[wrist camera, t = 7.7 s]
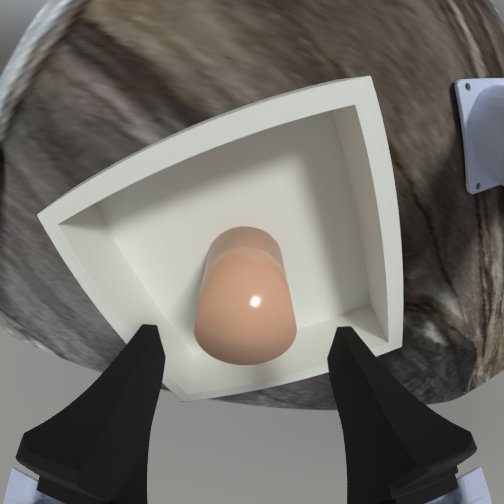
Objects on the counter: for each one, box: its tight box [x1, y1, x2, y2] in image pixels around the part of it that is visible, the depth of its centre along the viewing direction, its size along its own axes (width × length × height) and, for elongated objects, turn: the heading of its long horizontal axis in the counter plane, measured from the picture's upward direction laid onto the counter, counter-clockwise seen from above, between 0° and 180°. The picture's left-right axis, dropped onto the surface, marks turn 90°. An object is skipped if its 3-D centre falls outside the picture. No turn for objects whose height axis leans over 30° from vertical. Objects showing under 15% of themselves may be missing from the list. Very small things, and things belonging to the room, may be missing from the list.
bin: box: [37, 76, 403, 402], centre depth 16 cm, size 16×16×5 cm
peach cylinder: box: [194, 226, 297, 365], centre depth 15 cm, size 4×4×6 cm
